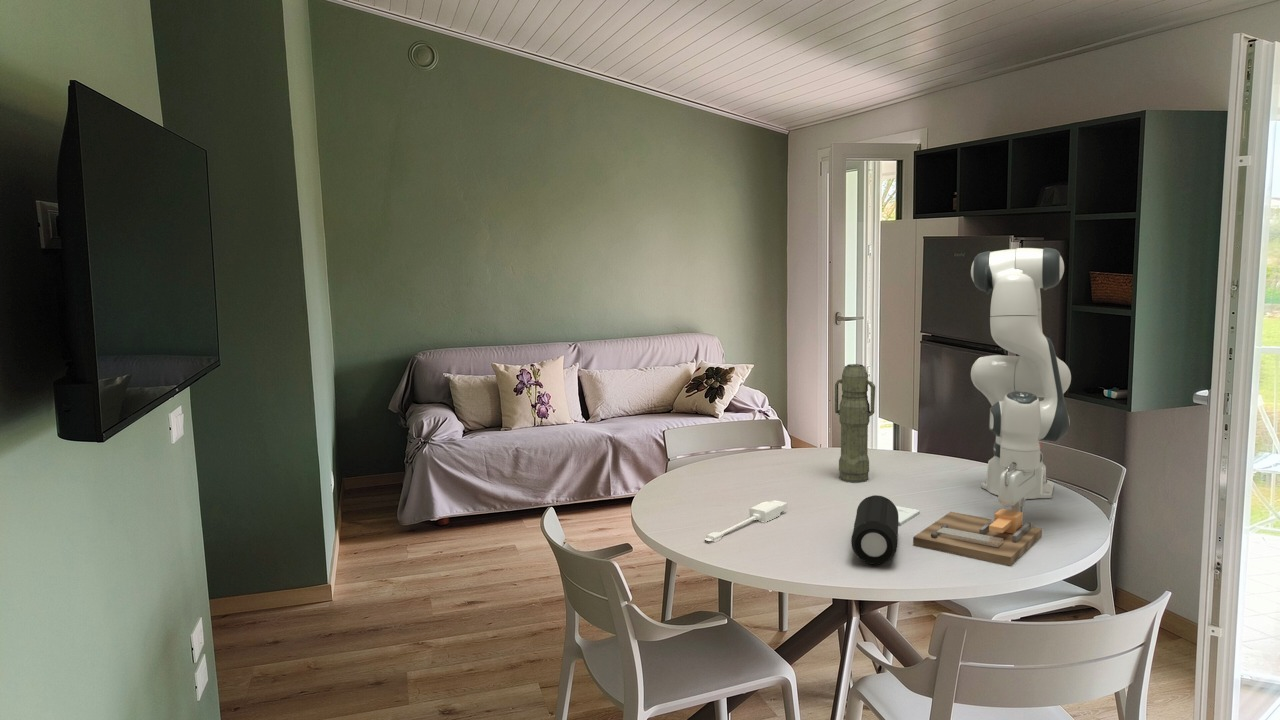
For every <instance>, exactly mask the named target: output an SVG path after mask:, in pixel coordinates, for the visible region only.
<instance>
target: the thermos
mask: <svg viewBox="0 0 1280 720" xmlns="http://www.w3.org/2000/svg"><path fill="white" fill-rule="evenodd" d="M834 384H835V385H834V412H835V414H838V415H837V416H838V417H839V424H840V457H839V459H838V471H839V477H838V478H839V480H841V481H842V482H846V483H854V484H855V483H865V482H868V481H869V472H870V458H869V454H868V449H869V447H868V443H869V442H868V441H869V439H868V438H869V437H868V436H869V434H868V433H869V424H870V417H871V416H873V415H874V414H875V406H876V405H875V399H876V384H874V382H873V381H870V380H869V374H868V371H867V368H866V366H865V365H863V364H859V363H853V364H851V363H850V364H847V365H845V366H844V368H843V371H842V372H841V378H840V379H837V380H836V382H835V383H834ZM839 384H841V391H842V392H841V393H842V395H841V401H840V404H839ZM869 387H870V402H869V398H868V397H869V396H868V390H869Z"/></svg>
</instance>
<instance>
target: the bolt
mask: <svg viewBox="0 0 1280 720" xmlns="http://www.w3.org/2000/svg"><path fill="white" fill-rule="evenodd" d="M1023 516H1024V511H1023V512H1017V511H1012V509H1011V510H1010V509H1005V508H1000V509H998V511H996V512H995V513H994V517H993V518H994V522H993V523H992V524H990V525H989V531H994V532H999V533H1003V532H1007V533H1012V534H1015V533H1016V532H1017V531H1018V530H1019V529H1020V528H1022V525H1023V519H1024V518H1023Z"/></svg>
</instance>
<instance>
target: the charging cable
mask: <svg viewBox="0 0 1280 720" xmlns="http://www.w3.org/2000/svg"><path fill="white" fill-rule="evenodd" d="M788 506H789V505H788V502H784V501H781V500H775V499H773V500H771V501H767V500H766V501H763V502H761V503H759V504H756V505H754V506H752V507H750V508H749V518H747V519H744V520H743V521H741V522H739V523H737V524H735V525H732V526H731V527H729V528H726V529H724V530H721V532H720V531H712V532H711V533H709V534H707V535H706V537H705V538H704V539H705V540H707V541H711V540H716V539H718V538H721V539H722V538H723V537H724V535H726V534H728V533H730V532H732V531H734V530H735V529H738V528H739V527H742V526H743V525H745V524H748V523H750V522H752V521H755V520H754V519H756V520H760V521H764V522H766V523H768V522H770V521H769V520H771V521H772V519H773V520H775V519H777V518H778V516H779V517H780V516H781V513H782V512H784V511H786V510H788V509H789V508H788ZM776 517H777V518H776ZM774 518H775V519H774ZM767 521H768V522H767ZM722 536H723V537H722Z"/></svg>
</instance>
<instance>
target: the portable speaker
mask: <svg viewBox="0 0 1280 720" xmlns="http://www.w3.org/2000/svg"><path fill="white" fill-rule="evenodd" d="M896 506H897V505H895V503H894V502H893V501H892V500H890V499H889V498H888V497H885V496H883V495H870V496H868V497H866V498H864V499H862V500H861V502H860V503H859V504H858V506H857V509H856V513H855V514H856V515H855V520H854V524H853V530H852V535H851V542H850V544H851V547H852V548H851V549H852V551H853V552H854V554H855V555H856V557H858V559H860V560H861V561H863V562H865V563H867V564H870V565H882V564H885V563H888V562H889V561H890V560H891V559H892V558H894V556H895V554H896V552H897V550H898V541H899V539H898V537H899V526H898V518H899V517H898V511H897V508H896Z"/></svg>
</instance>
